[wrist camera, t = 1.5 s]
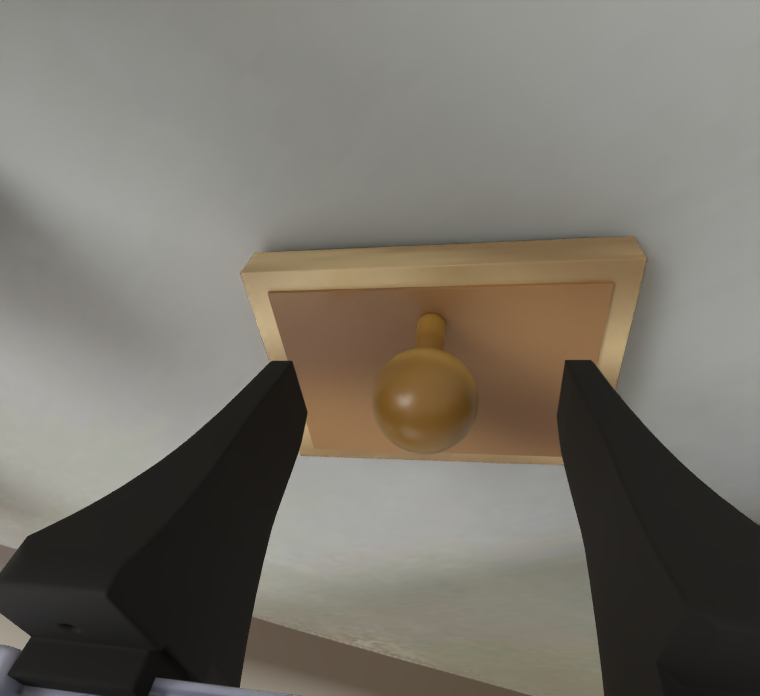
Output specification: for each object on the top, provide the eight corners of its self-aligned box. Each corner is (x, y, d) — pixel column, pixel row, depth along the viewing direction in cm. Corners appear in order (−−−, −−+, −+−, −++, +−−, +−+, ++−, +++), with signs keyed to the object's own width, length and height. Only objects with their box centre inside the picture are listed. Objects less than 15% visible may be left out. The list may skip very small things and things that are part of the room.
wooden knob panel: (590, 439, 20) (630, 598, 15) (308, 431, 22) (262, 569, 17) (634, 235, 14) (722, 380, 9) (254, 252, 17) (163, 377, 12)
